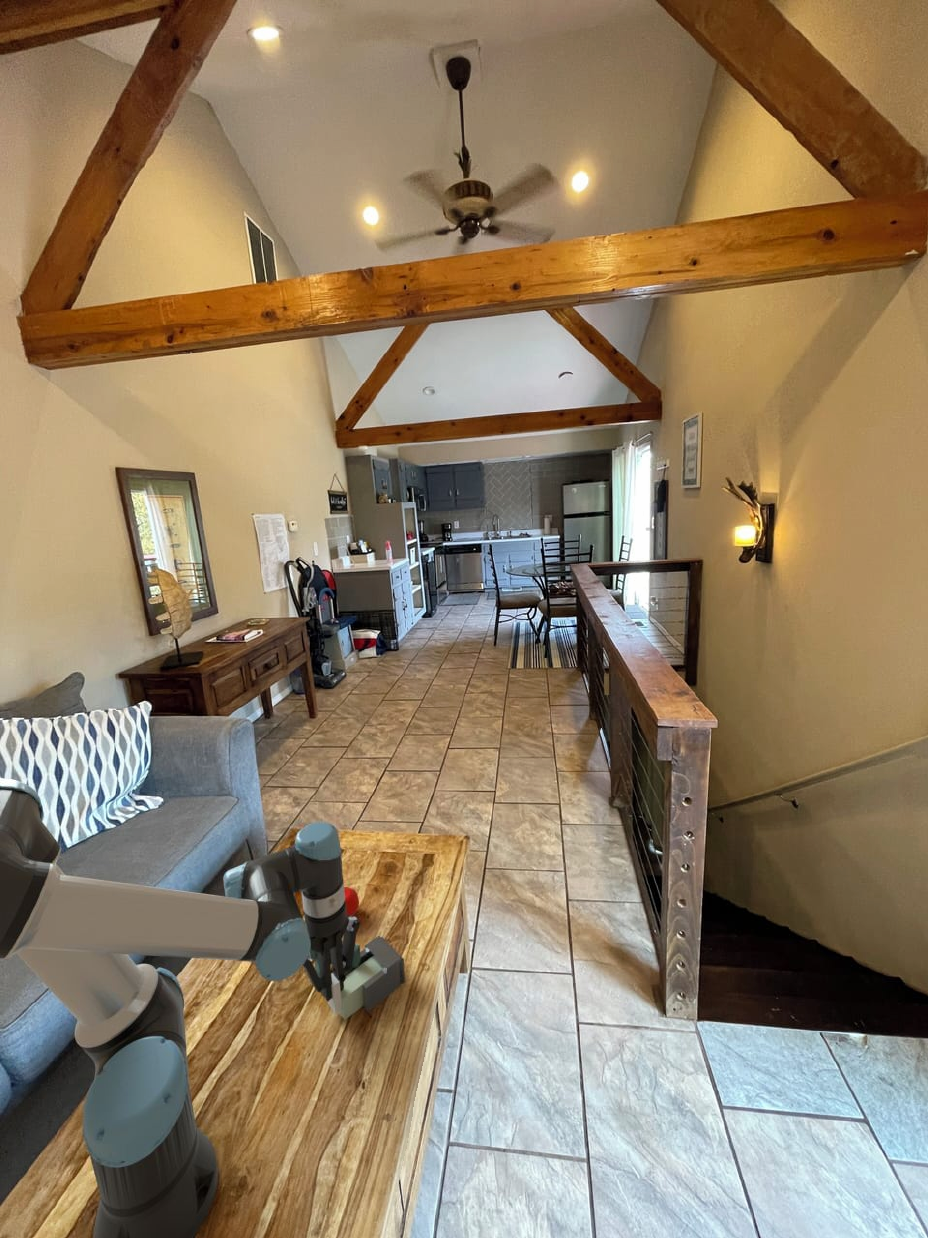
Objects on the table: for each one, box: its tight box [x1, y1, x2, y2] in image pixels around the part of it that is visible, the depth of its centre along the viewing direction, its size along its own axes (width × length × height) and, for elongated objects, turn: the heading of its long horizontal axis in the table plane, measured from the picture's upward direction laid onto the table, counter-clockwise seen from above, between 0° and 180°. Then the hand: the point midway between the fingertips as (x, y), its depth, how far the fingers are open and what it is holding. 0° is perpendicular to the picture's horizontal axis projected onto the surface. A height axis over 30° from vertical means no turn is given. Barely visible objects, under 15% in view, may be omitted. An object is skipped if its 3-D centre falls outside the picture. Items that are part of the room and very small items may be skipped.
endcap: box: [352, 935, 406, 1013], centre depth 105 cm, size 9×8×7 cm
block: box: [338, 956, 383, 1021], centre depth 102 cm, size 10×4×5 cm, turn 133°
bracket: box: [310, 940, 361, 995], centre depth 106 cm, size 9×9×9 cm
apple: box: [344, 886, 360, 917], centre depth 122 cm, size 8×8×7 cm
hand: (335, 1007), depth 99 cm, fingers closed
